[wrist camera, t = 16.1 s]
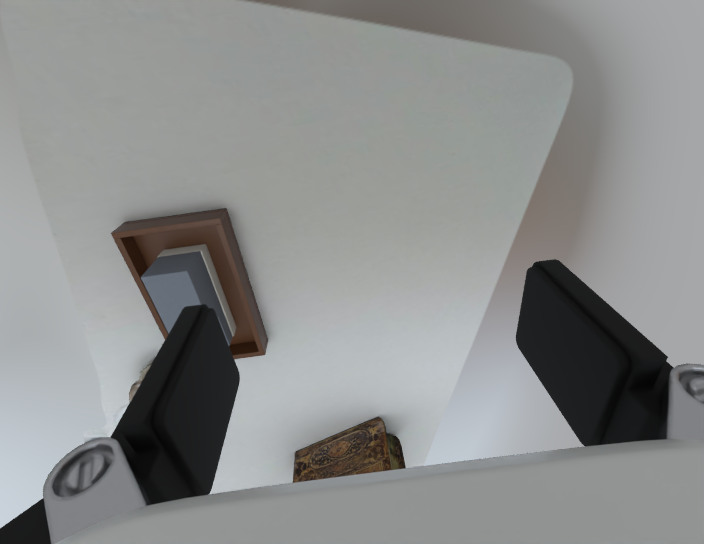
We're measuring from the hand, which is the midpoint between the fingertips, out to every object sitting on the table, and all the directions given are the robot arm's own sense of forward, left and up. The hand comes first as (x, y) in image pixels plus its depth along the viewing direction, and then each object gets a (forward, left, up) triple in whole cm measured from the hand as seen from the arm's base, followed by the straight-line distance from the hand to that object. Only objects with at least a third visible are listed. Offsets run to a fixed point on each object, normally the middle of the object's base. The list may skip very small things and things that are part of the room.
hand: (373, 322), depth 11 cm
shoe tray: (+13, -17, -26) cm, 34 cm away
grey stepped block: (+13, -17, -25) cm, 33 cm away
